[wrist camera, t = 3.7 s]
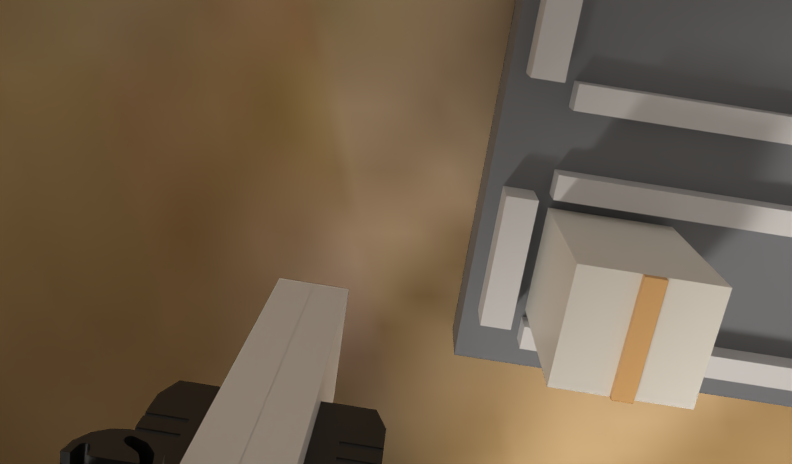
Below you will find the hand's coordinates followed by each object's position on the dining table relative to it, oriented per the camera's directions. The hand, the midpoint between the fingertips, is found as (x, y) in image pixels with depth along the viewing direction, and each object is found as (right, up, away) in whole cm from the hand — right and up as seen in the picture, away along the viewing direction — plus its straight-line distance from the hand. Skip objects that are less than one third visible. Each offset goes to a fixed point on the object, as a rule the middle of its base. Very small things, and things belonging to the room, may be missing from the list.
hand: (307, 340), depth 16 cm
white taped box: (+8, +1, +8) cm, 12 cm away
